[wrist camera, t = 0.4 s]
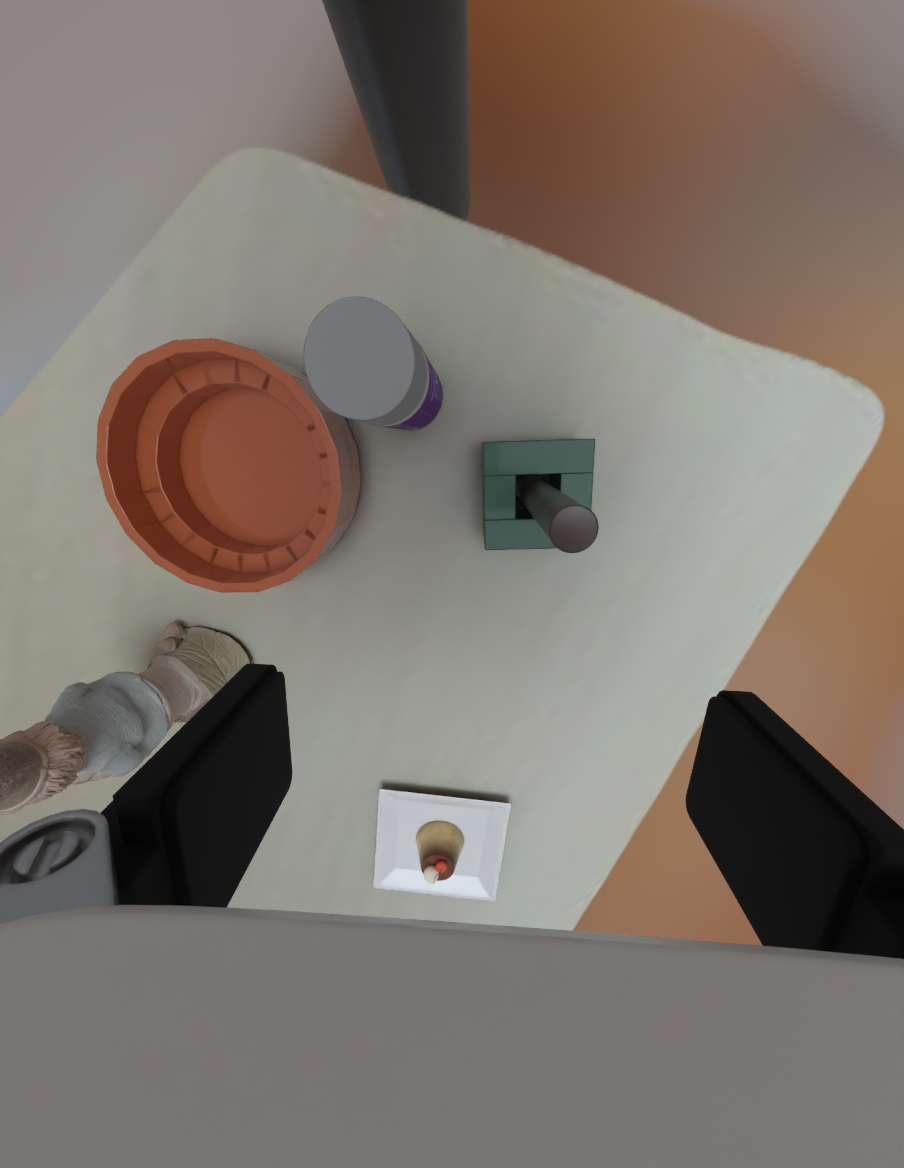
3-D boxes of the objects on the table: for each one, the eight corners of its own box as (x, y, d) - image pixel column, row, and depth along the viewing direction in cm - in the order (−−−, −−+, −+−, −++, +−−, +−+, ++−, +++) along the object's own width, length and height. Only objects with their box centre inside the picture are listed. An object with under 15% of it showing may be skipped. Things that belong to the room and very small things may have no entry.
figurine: (195, 596, 38) (-89, 757, 19) (270, 668, 39) (79, 882, 20) (130, 658, 40) (-184, 859, 21) (204, 723, 41) (-25, 965, 22)
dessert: (510, 794, 42) (514, 837, 38) (494, 891, 46) (496, 941, 41) (381, 780, 43) (370, 821, 38) (375, 877, 46) (365, 925, 42)
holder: (482, 442, 33) (483, 442, 28) (577, 438, 33) (595, 438, 28) (483, 535, 35) (485, 550, 30) (573, 532, 35) (589, 547, 30)
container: (456, 402, 32) (442, 373, 18) (404, 443, 33) (352, 447, 19) (415, 343, 31) (366, 263, 17) (363, 387, 32) (275, 347, 18)
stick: (515, 475, 34) (549, 505, 18) (542, 474, 34) (600, 504, 18) (515, 502, 34) (548, 553, 19) (542, 501, 34) (597, 552, 19)
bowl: (137, 361, 32) (65, 345, 27) (351, 351, 32) (325, 332, 26) (183, 570, 37) (130, 594, 31) (371, 566, 36) (352, 590, 31)
